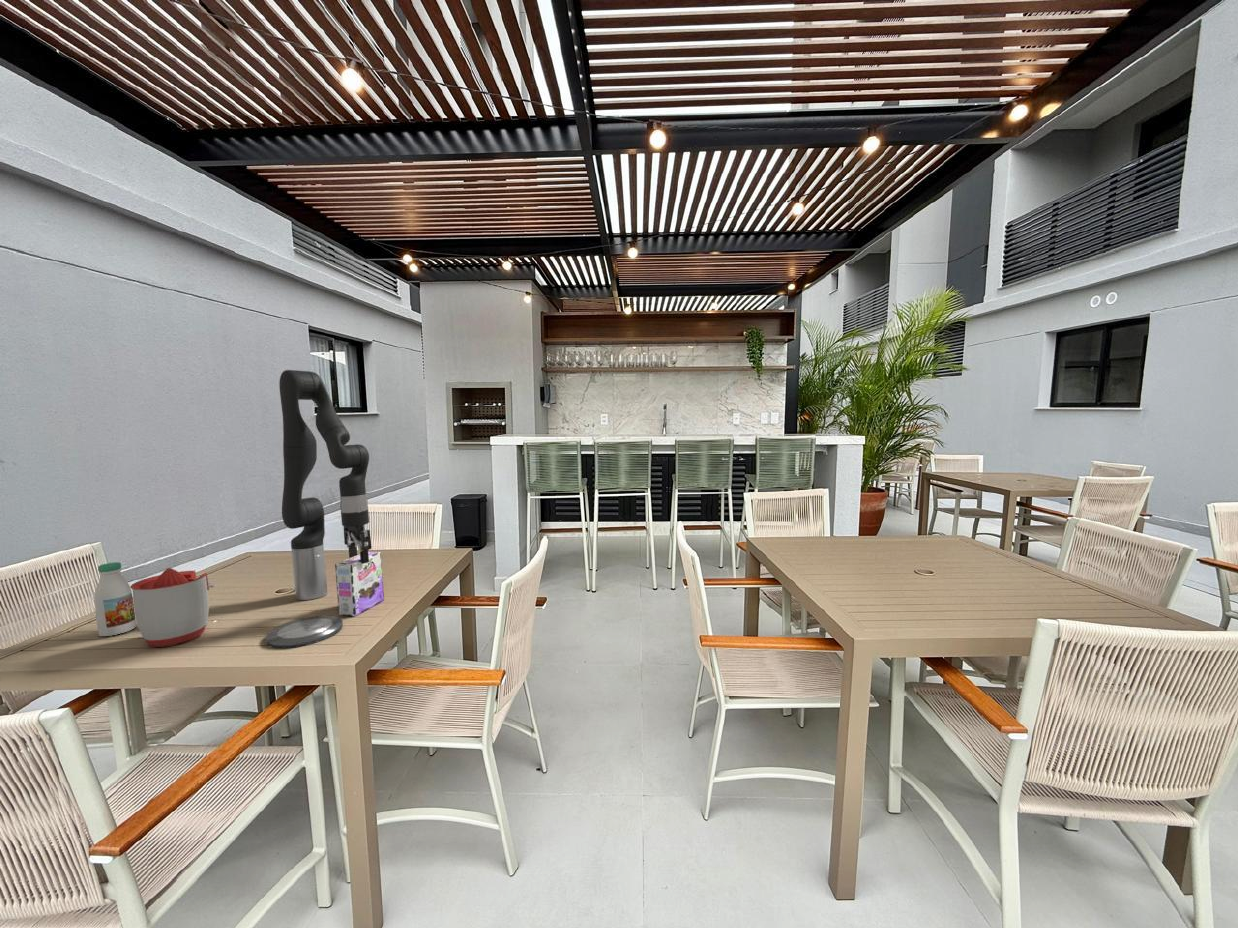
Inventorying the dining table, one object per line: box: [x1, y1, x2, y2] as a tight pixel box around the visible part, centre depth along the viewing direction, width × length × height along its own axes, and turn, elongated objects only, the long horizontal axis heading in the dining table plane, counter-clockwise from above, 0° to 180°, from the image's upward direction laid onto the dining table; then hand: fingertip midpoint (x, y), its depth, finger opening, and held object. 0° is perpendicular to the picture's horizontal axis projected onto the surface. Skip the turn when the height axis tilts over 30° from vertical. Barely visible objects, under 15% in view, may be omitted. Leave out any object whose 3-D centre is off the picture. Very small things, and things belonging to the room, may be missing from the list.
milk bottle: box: [93, 562, 137, 637], centre depth 143 cm, size 8×8×20 cm
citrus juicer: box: [130, 567, 215, 648], centre depth 139 cm, size 16×17×20 cm
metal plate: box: [265, 615, 344, 649], centre depth 140 cm, size 18×18×2 cm
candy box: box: [334, 551, 385, 617], centre depth 157 cm, size 14×6×16 cm, turn 168°
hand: (359, 560), depth 156 cm, fingers open, 8 cm apart
